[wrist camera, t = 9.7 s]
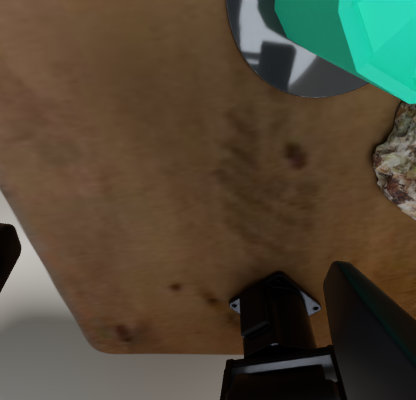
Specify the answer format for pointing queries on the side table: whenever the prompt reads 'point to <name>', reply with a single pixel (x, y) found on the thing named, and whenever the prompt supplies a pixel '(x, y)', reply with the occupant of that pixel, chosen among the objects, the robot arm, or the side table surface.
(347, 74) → the slate coaster
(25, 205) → the side table surface
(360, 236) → the side table surface
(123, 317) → the side table surface
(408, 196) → the mineral rock
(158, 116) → the side table surface
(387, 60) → the candle
